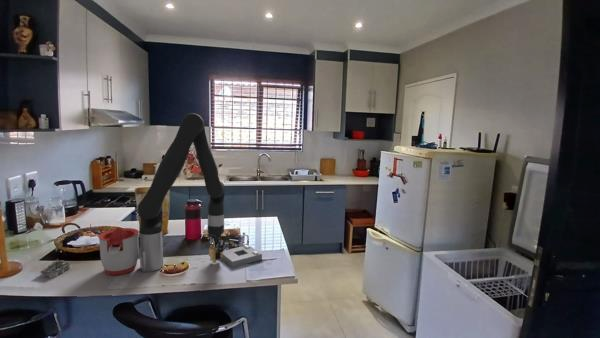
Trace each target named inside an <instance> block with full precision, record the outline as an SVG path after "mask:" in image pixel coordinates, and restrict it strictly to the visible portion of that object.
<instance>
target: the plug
mask: <svg viewBox="0 0 600 338" xmlns="http://www.w3.org/2000/svg"><path fill="white" fill-rule="evenodd" d="M208 257H210V261H211V262H212V263H213V264H215V263H217V261H221V258H220V259H219V260H216V259H215V248H214V247H211V248H210V247H208ZM220 257H223V252H220Z"/></svg>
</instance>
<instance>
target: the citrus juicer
mask: <svg viewBox="0 0 600 338" xmlns="http://www.w3.org/2000/svg"><path fill="white" fill-rule="evenodd" d="M98 239H99V253H100V254H99V256H100V261H101V265H102V267H103V270H104V271H105V273H106V274H108V275H111V276H119V275H123V274H128V273H130V272H131V271H134V269H135V268H136V266H137V264H138V260H139V256H140V251H139V248H140V247H139V246H140V241H139V229H136V228H133V227H132V228H131V227H124V228H122V227H120V226H118V227H116V228H115V229H109V230H106V231H103V232H102V233H100V234H99V235H98Z"/></svg>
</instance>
